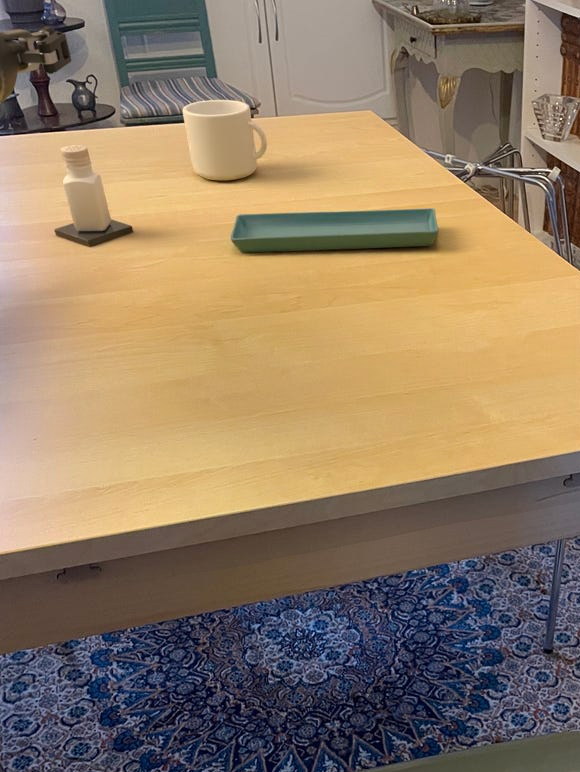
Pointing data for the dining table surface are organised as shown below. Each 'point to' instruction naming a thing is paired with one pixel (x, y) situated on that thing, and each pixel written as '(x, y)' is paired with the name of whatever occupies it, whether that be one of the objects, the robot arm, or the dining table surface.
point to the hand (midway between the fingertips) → (11, 37)
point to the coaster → (94, 233)
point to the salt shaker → (84, 191)
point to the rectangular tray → (334, 230)
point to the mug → (222, 139)
